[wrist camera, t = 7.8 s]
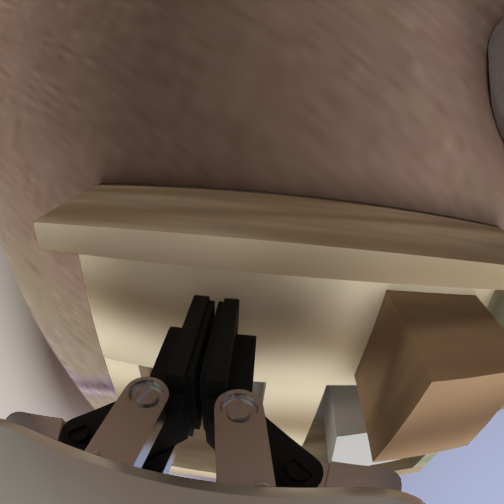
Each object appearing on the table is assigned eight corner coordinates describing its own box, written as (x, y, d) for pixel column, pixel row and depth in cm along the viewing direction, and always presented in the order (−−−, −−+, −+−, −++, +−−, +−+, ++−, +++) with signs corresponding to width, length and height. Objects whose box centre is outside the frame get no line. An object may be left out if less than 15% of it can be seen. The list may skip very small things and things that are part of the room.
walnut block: (386, 289, 12) (431, 381, 7) (475, 295, 12) (530, 367, 7) (354, 375, 14) (372, 462, 9) (436, 372, 14) (467, 444, 9)
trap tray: (99, 183, 13) (33, 222, 9) (497, 225, 13) (554, 271, 8) (140, 404, 20) (121, 459, 16) (403, 419, 20) (418, 471, 15)
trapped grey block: (327, 372, 17) (336, 436, 13) (399, 363, 16) (421, 421, 12) (323, 415, 19) (329, 471, 15) (386, 406, 18) (399, 459, 14)
